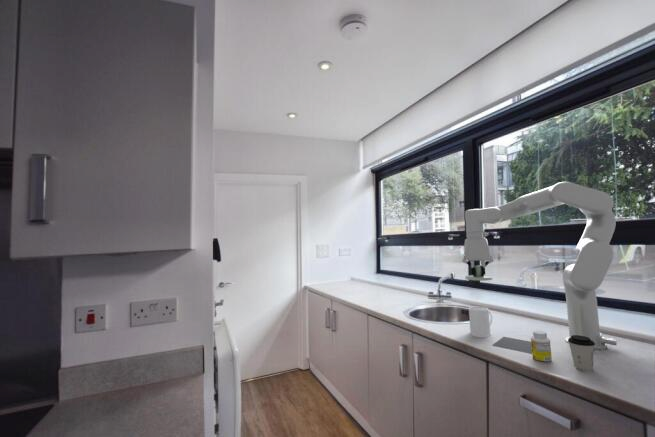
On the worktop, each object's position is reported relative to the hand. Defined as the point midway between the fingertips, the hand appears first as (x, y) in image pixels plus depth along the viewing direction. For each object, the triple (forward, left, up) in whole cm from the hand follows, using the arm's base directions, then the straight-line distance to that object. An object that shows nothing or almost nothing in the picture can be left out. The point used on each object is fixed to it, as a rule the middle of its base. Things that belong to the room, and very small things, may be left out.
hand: (478, 275), depth 140 cm
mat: (-15, +6, -26) cm, 31 cm away
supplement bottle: (-26, +17, -27) cm, 41 cm away
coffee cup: (-37, +15, -27) cm, 48 cm away
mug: (0, 0, -27) cm, 27 cm away
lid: (0, 0, -1) cm, 1 cm away
